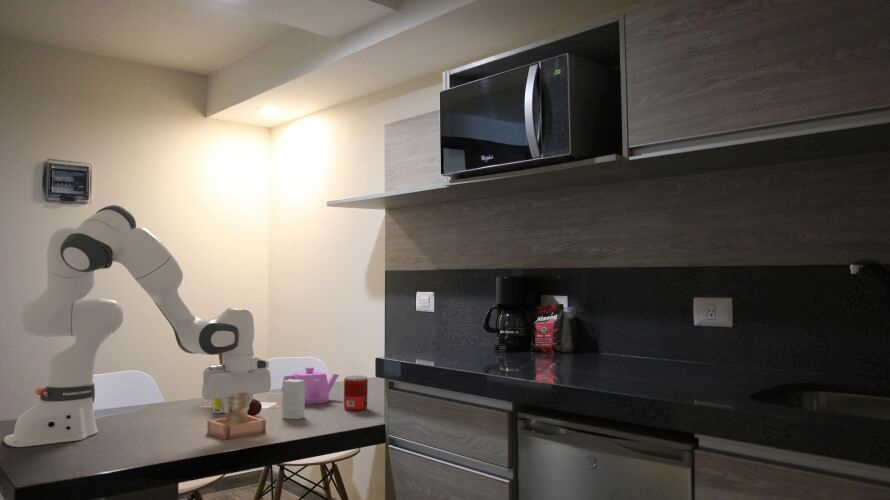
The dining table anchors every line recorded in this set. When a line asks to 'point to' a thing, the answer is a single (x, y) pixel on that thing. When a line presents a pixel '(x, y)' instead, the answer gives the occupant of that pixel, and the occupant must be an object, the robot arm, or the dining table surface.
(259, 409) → the potato
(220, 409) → the supplement bottle
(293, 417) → the skincare box
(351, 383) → the canned food
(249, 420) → the tray
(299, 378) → the teakettle
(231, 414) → the beige tall rectangular block
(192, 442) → the dining table surface
